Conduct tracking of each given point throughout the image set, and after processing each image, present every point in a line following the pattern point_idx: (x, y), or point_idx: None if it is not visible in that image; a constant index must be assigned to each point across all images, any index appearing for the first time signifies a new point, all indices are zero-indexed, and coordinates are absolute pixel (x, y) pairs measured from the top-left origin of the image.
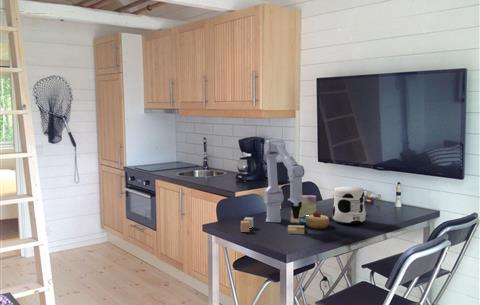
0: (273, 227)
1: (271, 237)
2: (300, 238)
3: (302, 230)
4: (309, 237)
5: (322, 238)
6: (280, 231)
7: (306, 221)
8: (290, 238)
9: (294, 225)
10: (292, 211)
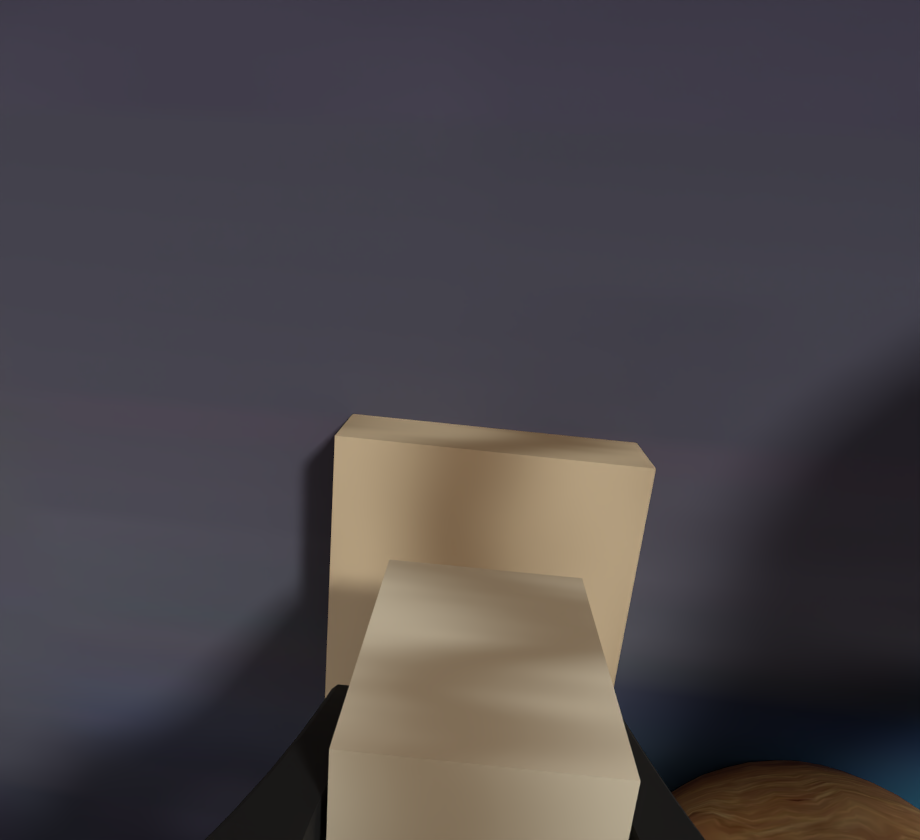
0: (803, 167)
1: (77, 100)
2: (103, 577)
3: (329, 668)
4: (173, 696)
5: (150, 831)
6: (493, 297)
7: (787, 816)
8: (76, 435)
9: (627, 584)
10: (467, 813)
